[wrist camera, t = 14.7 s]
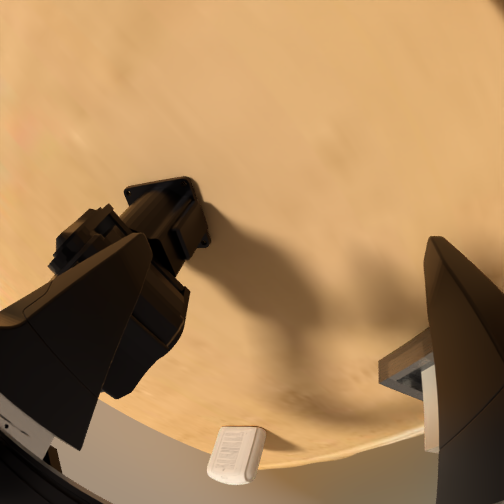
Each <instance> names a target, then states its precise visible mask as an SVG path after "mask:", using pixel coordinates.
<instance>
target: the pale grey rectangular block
mask: <svg viewBox="0 0 504 504" xmlns="http://www.w3.org/2000/svg"><path fill="white" fill-rule="evenodd" d="M421 375H422V387H423V402H424V426H425V451H428V452H433V453H439V420H438V399H437V385H436V374H435V364H434V365H433V366H431V367H429V368H428V369H426V370H424V371H422V372H421Z"/></svg>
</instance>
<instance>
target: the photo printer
mask: <svg viewBox="0 0 504 504" xmlns="http://www.w3.org/2000/svg"><path fill="white" fill-rule="evenodd" d="M265 439H266V431H265V430H264V429H262V428H260V427H221V428H220V430H219V433H218V436H217V439H216V442H215V445H214V448H213V451H212V454H211V457H210V461H209V463H208V467H207V473H208V475H209V476H210V477H211V478H213V479H215V480H217V481H219V482H222V483H226V484H230V485H242V484H247V483H251V482H252V481H253V480H254V479H255V477H256V473H257V470H258V466H259V462H260V459H261V455H262V451H263V447H264V443H265Z"/></svg>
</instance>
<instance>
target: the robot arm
mask: <svg viewBox="0 0 504 504" xmlns="http://www.w3.org/2000/svg"><path fill="white" fill-rule="evenodd" d="M183 182H186V185H184V184H183ZM129 191H130V193H131V194H130V193H129ZM124 195H125V197H126V200H127V202H128V204H129V207H128V208H127V209H126V210H125V212H124V213H123V214H122V215H121V216H120V217H119V216H118V215H117V214H116V213H115V212H114V211H113V207H112V206H111V205H110V204H109V203H108V204H107V205H106V206H105V207H104V208H103V209H102V208H101V207H100V208H99V209H98V210H93V209H89V210H87V211H86V212H85V213H84V214H83V215H82V216H81V217H80V218H79V219H78V220H77V221H76V222H74V223H73V224H72V225H71V226H69V227H68V228H67V229H66V230H64V231H63V232H62V233H61V234H60V235H59V236H58V237H57V238H56V252H55V253H54V254H53V256H54V259H53V260H52V261H51V263H50V264H49V265H48V267H49V269H50V270H51V271H52V272H53V273H54V274H55V275H54V276H53V278H52V279H51V280H50V281H49V282H48V283H47V284H45V285H43V286H42V287H40V288H38V289H37V290H35V291H34V292H32V293H30V294H29V295H27V296H25V297H24V298H22V299H20V300H18V301H17V302H15V303H13V304H12V305H10V306H8V307H7V308H5V309H3V310H2V311H0V504H112V503H111V502H109V501H107V500H105V499H103V498H101V497H99V496H98V495H96V494H94V493H92V492H90V491H89V490H87V489H85V488H84V487H82V486H80V485H79V484H77V483H76V482H74V481H72V480H71V479H69V478H68V477H66V476H65V475H63V474H62V470H61V466H60V461H59V457H58V453H57V449H56V448H54V447H53V446H51V445H50V444H51V442H52V440H53V438H54V436H55V437H57V438H58V439H60V440H61V441H63V442H65V443H66V444H68V445H70V446H72V447H73V448H75V449H77V450H79V451H80V450H81V448H82V446H83V443H84V439H85V436H86V433H87V430H88V427H89V424H90V421H91V418H92V415H93V412H94V409H95V406H96V404H97V401H98V397H99V395H100V393H101V392H106V393H107V394H108V395H110V396H111V397H113V398H114V399H119V398H121V397H123V396H125V395H127V394H129V393H131V392H132V391H133V390H134V388H135V387H136V385H137V384H138V383H139V381H140V380H141V378H142V377H143V376H144V374H145V373H146V372H147V370H148V369H149V368H150V367H151V366H152V365H153V364H154V363H155V362H156V361H157V360H158V359H159V358H161V357H163V356H164V355H165V354H167V353H168V352H169V351H170V350H171V349H172V348H173V347H174V345H175V344H176V343H177V341H178V340H179V338H180V336H181V334H182V332H183V329H184V325H185V319H186V313H187V308H188V302H189V296H190V290H189V289H188V288H187V287H186V286H183V285H182V284H181V283H180V282H179V281H178V280H177V279H176V278H175V277H176V276H177V274H178V272H179V271H180V269H181V267H182V266H183V264H184V262H185V260H190V258H191V257H192V255H193V253H194V251H195V250H196V248H206V247H208V246H209V245H210V243H211V239H210V236H209V233H208V230H207V229H208V226H207V223H206V220H205V217H204V214H203V211H202V208H201V205H200V202H199V201H198V200H197V197H196V194H195V191H194V188H193V185H192V182H191V180H190V179H189V178H188V177H186V176H183V177H177V178H171V179H165V180H159V181H154V182H148V183H143V184H137V185H132V186H128V187H127V188H126V189H125V190H124ZM203 240H204V241H206V242H204V241H203ZM424 276H425V287H426V301H427V313H428V320H429V326H430V333H431V340H432V347H433V355H434V364H435V374H436V385H437V399H438V420H439V463H438V485H437V498H436V504H504V293H503V292H502V291H501V290H500V289H499V288H498V287H497V286H496V285H495V284H494V283H493V282H492V281H491V280H490V279H489V278H488V277H487V276H486V275H484V274H483V273H482V272H481V271H480V270H479V269H478V268H477V267H476V266H475V265H474V264H473V263H472V262H471V261H470V260H469V259H467V258H466V257H465V256H464V255H463V254H462V253H461V252H460V251H459V250H457V249H456V248H455V247H454V246H453V245H452V244H451V243H449V242H448V241H447V240H446V239H445V238H444V237H442V236H430V237H429V239H428V242H427V247H426V252H425V257H424Z"/></svg>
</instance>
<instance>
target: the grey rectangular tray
mask: <svg viewBox="0 0 504 504" xmlns="http://www.w3.org/2000/svg"><path fill="white" fill-rule="evenodd" d="M433 365H434V355H433V347H432V340H431V333H430V327H429V328H427V329H426V330H425V331H423V332H422V333H420V334H419V335H418V336H416V337H415V338H413V339H412V340H410V341H409V342H407V343H406V344H404V345H403V346H401V347H400V348H398V349H397V350H395V351H394V352H392V353H390V354H389V355H387V356H386V357H384V358H383V359H381V360H379V384H382V385H384V386H386V387H389V388H391V389H394V390H396V391H399V392H401V393H404V394H406V395H409V396H411V397H414V398H416V399H419V400H422V401H423V387H422V375H421V372H422V371H424V370H426V369H428V368H429V367H431V366H433Z"/></svg>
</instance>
